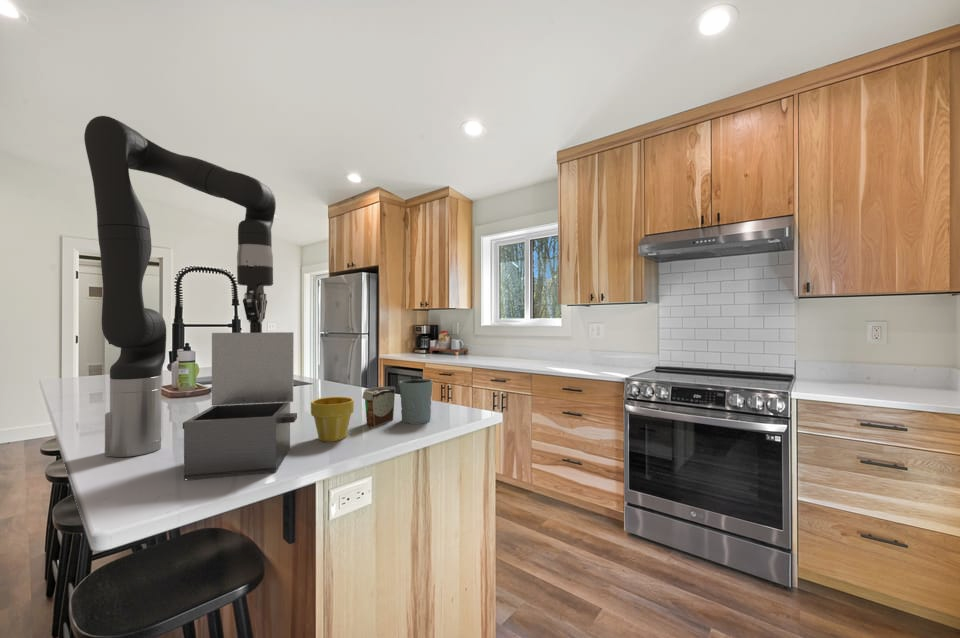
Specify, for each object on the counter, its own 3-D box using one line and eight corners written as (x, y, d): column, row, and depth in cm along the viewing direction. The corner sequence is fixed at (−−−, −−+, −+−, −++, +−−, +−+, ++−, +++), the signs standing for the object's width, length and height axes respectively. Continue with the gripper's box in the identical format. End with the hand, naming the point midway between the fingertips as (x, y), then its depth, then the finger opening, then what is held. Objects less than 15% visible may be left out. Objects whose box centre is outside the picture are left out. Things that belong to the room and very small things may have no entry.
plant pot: (345, 444, 103) (345, 404, 103) (303, 443, 103) (303, 404, 103) (358, 432, 114) (358, 396, 114) (320, 432, 114) (320, 396, 114)
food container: (379, 417, 132) (379, 385, 132) (396, 419, 129) (396, 386, 129) (353, 426, 120) (353, 391, 120) (371, 428, 118) (371, 393, 118)
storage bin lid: (211, 333, 96) (215, 332, 98) (211, 405, 96) (215, 403, 98) (292, 332, 100) (294, 332, 102) (292, 401, 100) (294, 399, 102)
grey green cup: (405, 425, 121) (405, 384, 121) (394, 418, 130) (394, 379, 130) (438, 421, 126) (438, 381, 126) (425, 415, 135) (425, 377, 135)
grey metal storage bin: (169, 481, 79) (169, 422, 79) (201, 455, 95) (201, 406, 95) (289, 471, 85) (289, 416, 85) (300, 447, 100) (301, 401, 100)
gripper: (245, 267, 105) (246, 336, 106) (229, 261, 92) (230, 340, 93) (278, 268, 107) (278, 336, 108) (266, 263, 95) (267, 340, 95)
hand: (256, 338), depth 100 cm, fingers closed
